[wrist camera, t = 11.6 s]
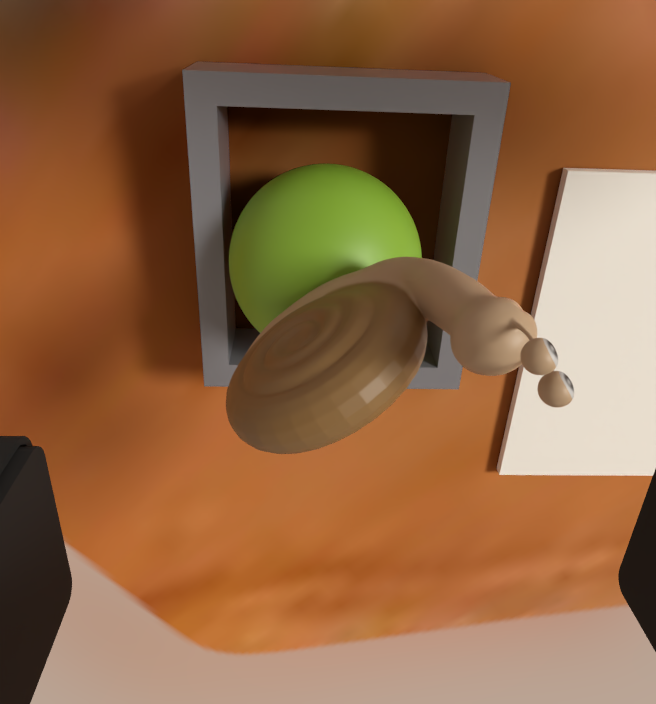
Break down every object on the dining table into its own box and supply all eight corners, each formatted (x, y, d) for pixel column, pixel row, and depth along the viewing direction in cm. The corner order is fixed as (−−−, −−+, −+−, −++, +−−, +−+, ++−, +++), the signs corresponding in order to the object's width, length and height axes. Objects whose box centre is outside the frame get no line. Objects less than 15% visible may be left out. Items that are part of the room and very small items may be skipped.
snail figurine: (462, 241, 20) (632, 495, 10) (297, 334, 22) (294, 642, 11) (382, 89, 18) (496, 213, 7) (203, 206, 19) (91, 444, 9)
